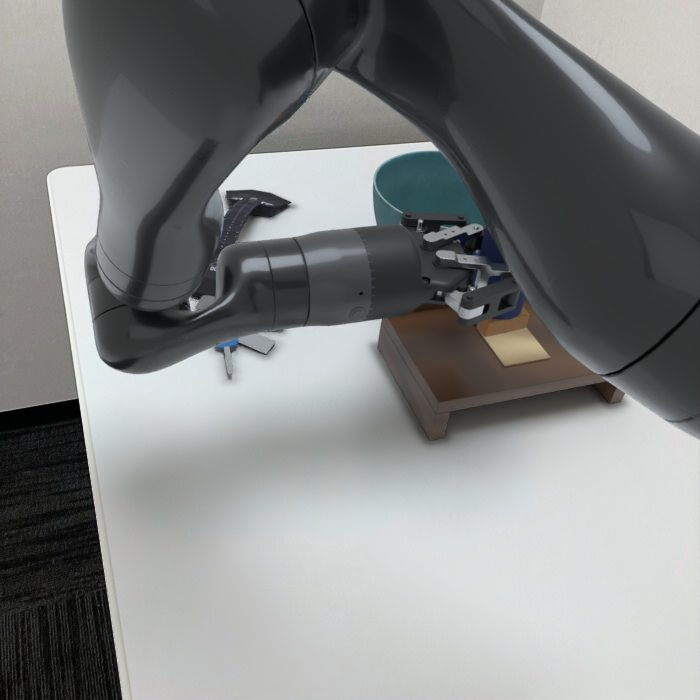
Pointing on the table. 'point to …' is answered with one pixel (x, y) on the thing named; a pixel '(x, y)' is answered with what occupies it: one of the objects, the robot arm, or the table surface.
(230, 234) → the dark piece
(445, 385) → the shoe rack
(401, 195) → the teal bowl
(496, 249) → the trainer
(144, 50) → the robot arm
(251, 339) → the key chain
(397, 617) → the table surface
